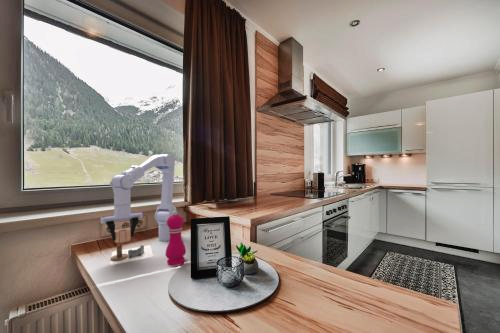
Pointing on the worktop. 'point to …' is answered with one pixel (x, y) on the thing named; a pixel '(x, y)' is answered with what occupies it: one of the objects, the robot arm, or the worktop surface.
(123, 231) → the ring
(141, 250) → the grey mechanical part
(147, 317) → the worktop surface
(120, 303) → the worktop surface
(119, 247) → the peg
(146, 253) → the board
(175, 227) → the pepper mill
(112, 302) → the worktop surface
